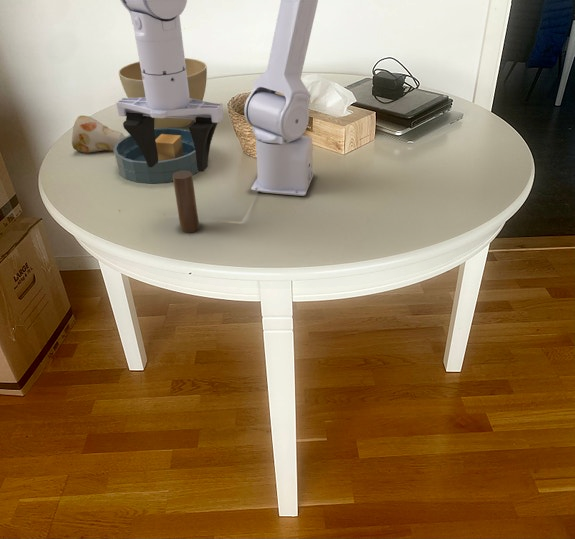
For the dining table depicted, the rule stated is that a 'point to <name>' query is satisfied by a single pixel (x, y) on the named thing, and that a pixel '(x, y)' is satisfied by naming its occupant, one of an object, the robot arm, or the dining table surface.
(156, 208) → the dining table surface
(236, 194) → the dining table surface
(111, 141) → the cream tapered piece
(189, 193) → the stick
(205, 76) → the flower pot
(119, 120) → the dining table surface
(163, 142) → the block
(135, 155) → the bowl
